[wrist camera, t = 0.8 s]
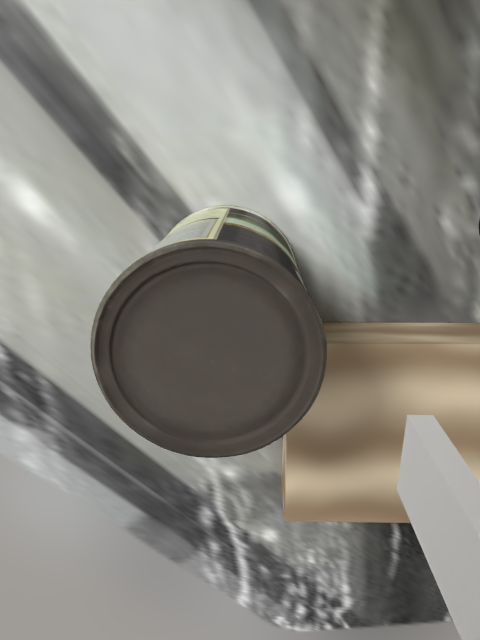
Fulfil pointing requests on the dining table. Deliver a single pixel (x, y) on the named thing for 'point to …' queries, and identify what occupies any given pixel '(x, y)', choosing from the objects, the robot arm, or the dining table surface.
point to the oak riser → (379, 417)
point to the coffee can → (211, 338)
